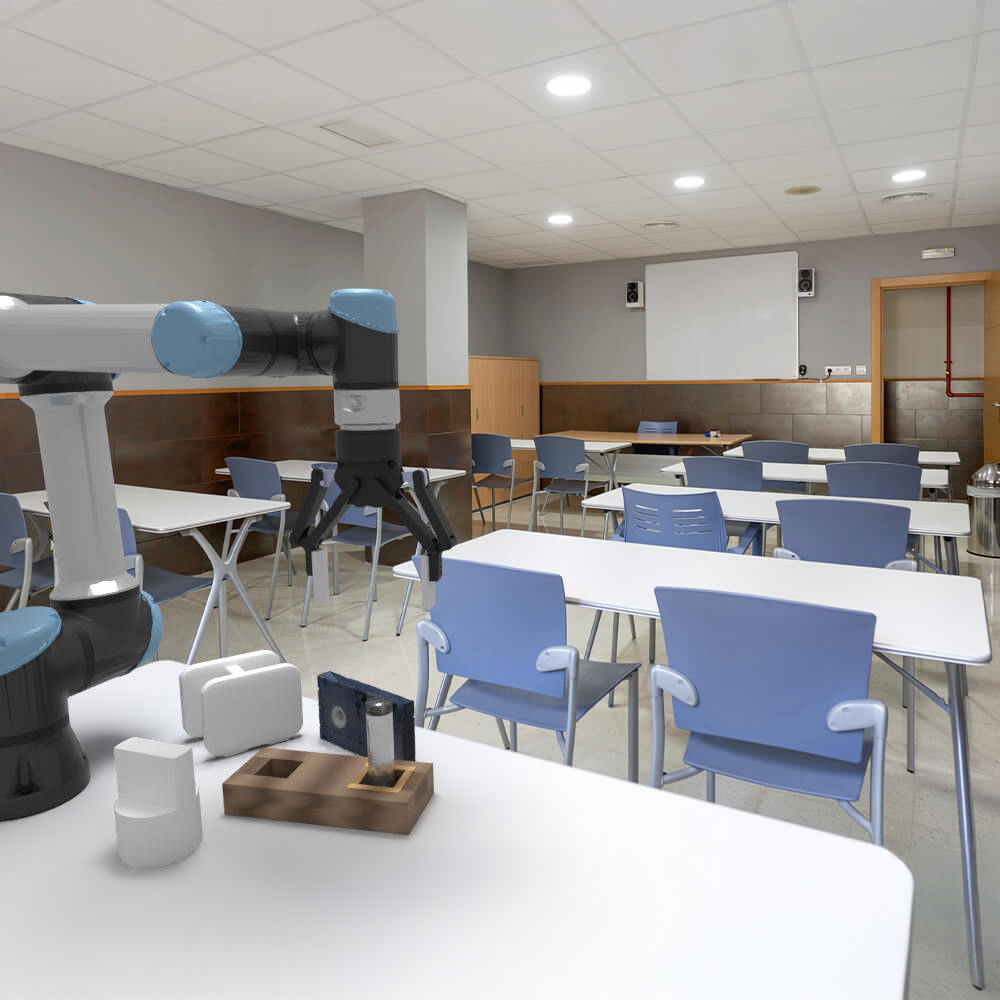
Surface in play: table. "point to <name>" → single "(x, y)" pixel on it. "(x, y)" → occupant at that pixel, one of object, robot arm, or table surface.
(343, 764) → the mount block
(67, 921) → the table surface
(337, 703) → the vhs cassette tape
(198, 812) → the cylinder with rectangular tab
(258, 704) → the cable organizer
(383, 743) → the lock pin
